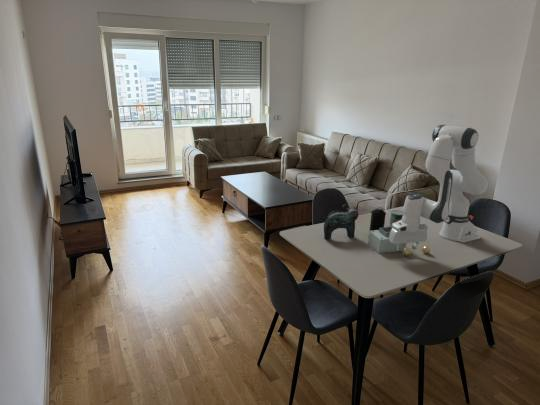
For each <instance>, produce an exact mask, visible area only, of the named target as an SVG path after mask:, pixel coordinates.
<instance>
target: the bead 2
mask: <svg viewBox="0 0 540 405" xmlns="http://www.w3.org/2000/svg"><path fill="white" fill-rule="evenodd" d="M421 250H422V253H423V254H425V255H428V254H430V252H431V248H430V247H429V246H427V245H425V246H423V247H422V248H421Z"/></svg>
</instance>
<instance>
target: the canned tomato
mask: <svg viewBox="0 0 540 405" xmlns="http://www.w3.org/2000/svg"><path fill="white" fill-rule="evenodd" d="M402 217H403V210H398V209H397V210H391V211H390V219H389V224H388V227H392V224H393V223H395V222H398V221H400V220H402ZM392 228H393V227H392Z"/></svg>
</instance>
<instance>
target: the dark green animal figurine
mask: <svg viewBox="0 0 540 405" xmlns="http://www.w3.org/2000/svg"><path fill="white" fill-rule="evenodd" d="M344 207H346V208H345V209H346V211H340V210H334V211H331V212H330V213H329V214H328V215H327V217H326V220H325V221H324V223H323V236H324V237H323V238H324V239H325V240H326V241H327V240H331V239H332V235H333V233H334V232H335V230H338V229H345V230H346V236H347V237H348V238H350V239H351V238H355V233H356V232H355V230H356V220H358V218H359V212H358V210H357V208H356V206H353V208H349V205H348V204H343V205H342V208H344Z"/></svg>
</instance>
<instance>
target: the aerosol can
mask: <svg viewBox="0 0 540 405" xmlns="http://www.w3.org/2000/svg"><path fill="white" fill-rule="evenodd" d="M370 213H371V215H370V216H371V217H370V224H369V231H372V230H379V228H382V227H385V224H386V221H385V220H386V215H387V212H385V210H383V209H382V205H379V204H378V205H377V208H375V209H373V210H371V211H370ZM367 238H369V235H368V237H367Z"/></svg>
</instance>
